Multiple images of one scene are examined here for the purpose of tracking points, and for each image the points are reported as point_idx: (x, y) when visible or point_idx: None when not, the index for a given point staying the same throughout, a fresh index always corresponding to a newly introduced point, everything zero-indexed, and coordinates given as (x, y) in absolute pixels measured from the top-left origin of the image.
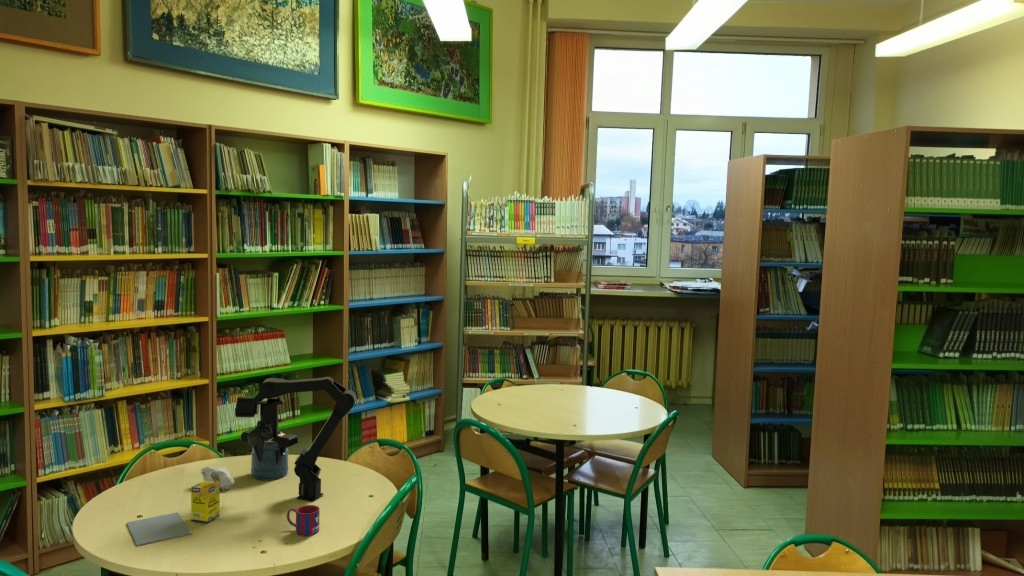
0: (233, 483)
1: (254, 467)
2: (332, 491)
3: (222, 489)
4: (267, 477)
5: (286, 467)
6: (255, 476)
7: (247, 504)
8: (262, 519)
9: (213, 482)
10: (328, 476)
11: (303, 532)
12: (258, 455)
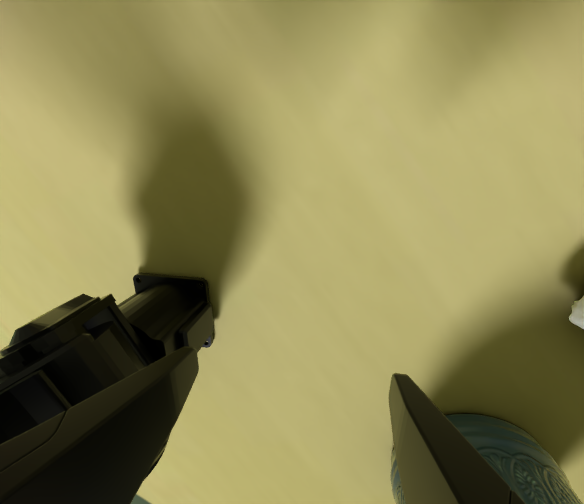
0: (572, 307)
1: (544, 476)
2: None
3: None
4: None
5: (396, 501)
6: (506, 427)
7: (367, 155)
8: (181, 15)
9: None
10: (245, 471)
11: None
12: (429, 439)
